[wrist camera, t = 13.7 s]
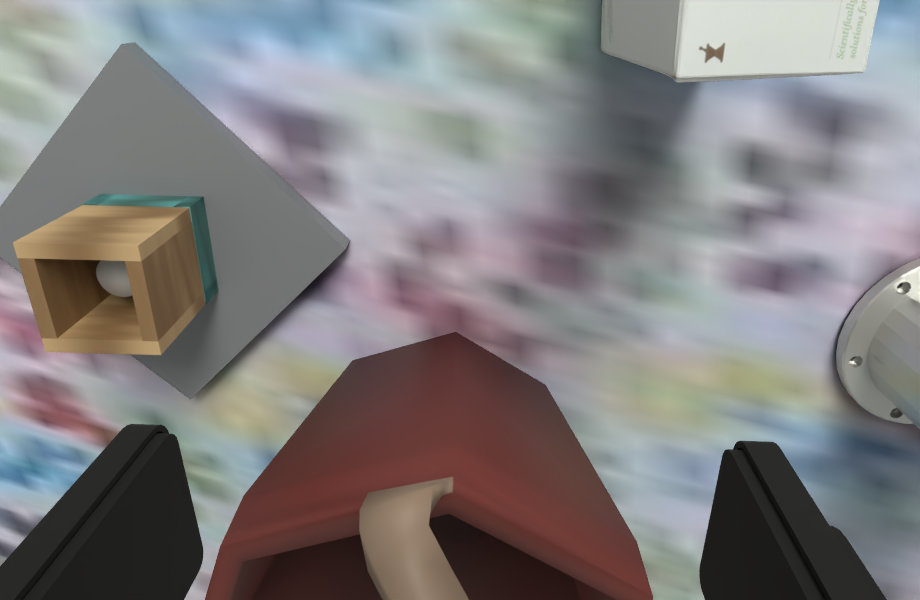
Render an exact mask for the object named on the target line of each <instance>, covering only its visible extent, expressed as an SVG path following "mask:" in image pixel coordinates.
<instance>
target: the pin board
mask: <svg viewBox="0 0 920 600" xmlns="http://www.w3.org/2000/svg"><path fill="white" fill-rule="evenodd" d="M100 194H115V195H155V196H196V197H204V202H205V208H206V214H207V221H208V227H209V233H210V240H211V246H212V252H213V258H214V265H215V271H216V277H217V284H218V290H219V291H218V292H217V294H216V295H215V296H214V297H213V298H212V299H211V300H210V302H209V303H208V304H207V305H204V307H203V308H202V309H201V310H200V311H199V312H198V313H197V315H196V316H195V317H194V318H193V319H192V320H191V321H190V323H189V324H188V325H187V326H186V327H185V328H184V330H183V331H182V332H181V333H180V334H179V335H178V336H177V338H176V339H175V340H174V341H173V342H172V343H171V344H170V346H169V347H168V348H167V349H166V350H165V351H164V352H163V354H162V355H141V354H130V355H132V356H133V357H134V358H136V359H137V360H138V361H140V362H141V363H142V364H144V365H145V366H146V367H148V368H149V369H150V370H152V371H153V372H154V373H156V374H157V375H158V376H160V377H161V378H162V379H164V380H165V381H166V382H168V383H169V384H171V385H172V386H173V387H175V388H176V389H177V390H179V391H180V392H181V393H183V394H184V395H185V396H187V397H188V398H189V399H192V398H193V397H194V396H195V395H196V394H197V393H198V392H199V391H200V390H201V389H202V388H203V387H204V386H205V385H206V384H207V383H208V382H209V381H210V380H211V379H212V378H213V377H214V376H215V375H216V374H217V373H218V372H219V371H220V370H221V369H222V368H224V367H225V366H226V365H227V364H228V363H229V362H230V361H231V360H232V359H233V358H234V357H235V356H236V355H237V354H238V353H239V352H240V351H241V350H242V349H243V348H244V347H245V346H246V345H247V344H248V343H249V342H250V341H251V340H252V339H253V338H254V337H255V336H257V335H258V334H259V333H260V332H261V331H262V330H263V329H264V328H265V327H266V326H267V325H268V324H269V323H270V322H271V321H272V320H273V319H274V318H275V317H276V316H277V315H278V314H279V313H280V312H281V311H282V310H283V309H284V308H285V307H286V306H287V305H288V304H290V303H291V302H292V301H293V300H294V299H295V298H296V297H297V296H298V295H299V294H300V293H301V292H302V291H303V290H304V289H305V288H306V287H307V286H308V285H309V284H310V283H311V282H312V281H313V280H314V279H315V278H316V277H317V276H318V275H319V274H320V273H321V272H323V271H324V270H325V269H326V268H327V267H328V266H329V265H330V264H331V263H332V262H333V261H334V260H335V259H336V258H337V257H338V256H339V255H340V254H341V253H342V252H343V251H344V250H345V249H346V247H347V246H348V244H349V242H350V240H349V239H348V238H347V237H346V236H345V235H344V234H343V233H342V232H340V231H339V230H338V229H337V228H336V227H335V226H334V225H333V224H332V223H331V222H330V221H329V220H327V219H326V218H325V217H324V216H323V215H322V214H321V213H320V212H319V211H318V210H317V209H315V208H314V207H313V206H312V205H311V204H310V203H309V202H308V201H307V200H306V199H305V198H303V197H302V196H301V195H300V194H299V193H298V192H297V191H296V190H295V189H294V188H293V187H292V186H290V185H289V184H288V183H287V182H286V181H285V180H284V179H283V178H282V177H281V176H280V175H278V174H277V173H276V172H275V171H274V170H273V169H272V168H271V167H270V166H269V165H268V164H267V163H265V162H264V161H263V160H262V159H261V158H260V157H259V156H258V155H257V154H256V153H255V152H253V151H252V150H251V149H250V148H249V147H248V146H247V145H246V144H245V143H244V142H243V141H241V140H240V139H239V138H238V137H237V136H236V135H235V134H234V133H233V132H232V131H231V130H230V129H228V128H227V127H226V126H225V125H224V124H223V123H222V122H221V121H220V120H219V119H218V118H216V117H215V116H214V115H213V114H212V113H211V112H210V111H209V110H208V109H207V108H206V107H205V106H203V105H202V104H201V103H200V102H199V101H198V100H197V99H196V98H195V97H194V96H193V95H191V94H190V93H189V92H188V91H187V90H186V89H185V88H184V87H183V86H182V85H181V84H179V83H178V82H177V81H176V80H175V79H174V78H173V77H172V76H171V75H170V74H169V73H168V72H166V71H165V70H164V69H163V68H162V67H161V66H160V65H159V64H158V63H157V62H156V61H154V60H153V59H152V58H151V57H150V56H149V55H148V54H147V53H146V52H145V51H144V50H143V49H141V48H140V47H139V46H138V45H137V44H136V43H135V42H134V43H127V44H121V45H120V47H119V48H118V49H117V51H116V52H115V53H114V55H113V56H112V57H111V59H110V60H109V61H108V63H107V64H106V65H105V67H104V68H103V69H102V71H101V72H100V74H99V75H98V76H97V78H96V79H95V80H94V82H93V83H92V84H91V86H90V87H89V88H88V90H87V91H86V92H85V94H84V95H83V96H82V98H81V99H80V100H79V102H78V103H77V104H76V106H75V107H74V108H73V110H72V111H71V113H70V114H69V115H68V117H67V118H66V119H65V121H64V122H63V123H62V125H61V126H60V127H59V129H58V130H57V131H56V133H55V134H54V135H53V137H52V138H51V139H50V141H49V142H48V143H47V145H46V146H45V147H44V149H43V150H42V151H41V153H40V154H39V156H38V157H37V158H36V160H35V161H34V162H33V164H32V165H31V166H30V168H29V169H28V170H27V172H26V173H25V174H24V176H23V177H22V178H21V180H20V181H19V182H18V184H17V185H16V186H15V188H14V189H13V190H12V192H11V193H10V194H9V196H8V197H7V199H6V200H5V201H4V203H3V204H2V205H1V207H0V258H2V259H3V260H4V261H6V262H7V263H8V264H10V265H11V266H12V267H14V268H15V269H16V270H18V271H19V272H20V273H22V272H21V268H20V265H19V262H18V258H17V255H16V252H15V249H14V245H13V242H15V241H16V240H18V239H20V238H22V237H24V236H26V235H28V234H30V233H31V232H33V231H35V230H37V229H39V228H41V227H43V226H44V225H46V224H48V223H50V222H52V221H54V220H56V219H58V218H59V217H61V216H63V215H65V214H67V213H69V212H71V211H73V210H74V209H76V208H78V207H80V206H82V204H83V203H85V202H87V201H89V200H90V199H92V198H94V197H96V196H98V195H100ZM96 275H97V279H98V281H99V283H100V284H101V286H102V287H103V288H104V289H105V290H106V291H108V292H109V293H111V294H113V295H115V296H119V297H129V296H132V291H131V287H130V282H129V278H128V273H127V269H126V264H125V261H109V260H101V261H100V262H99V263H98V265H97V268H96Z"/></svg>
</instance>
